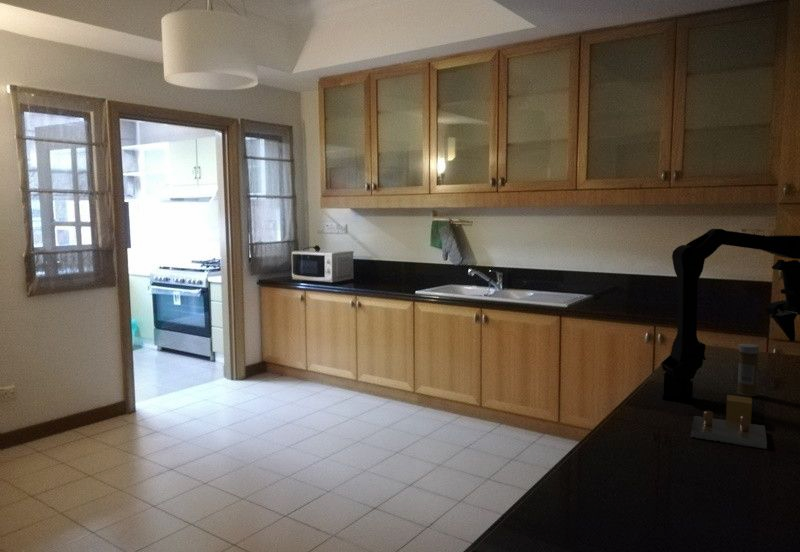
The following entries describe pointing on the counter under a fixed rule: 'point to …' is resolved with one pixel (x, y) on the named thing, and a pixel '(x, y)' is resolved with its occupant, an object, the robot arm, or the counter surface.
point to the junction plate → (729, 431)
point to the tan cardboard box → (738, 408)
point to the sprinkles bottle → (747, 369)
